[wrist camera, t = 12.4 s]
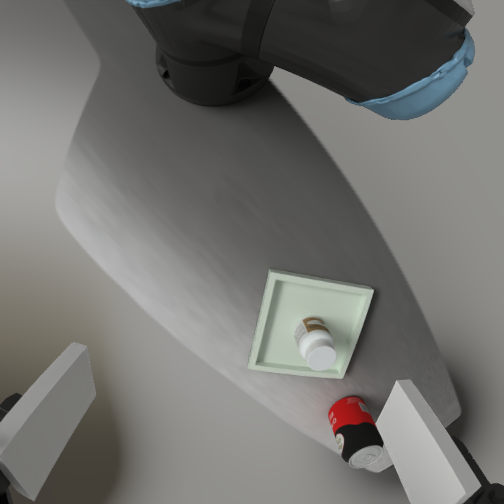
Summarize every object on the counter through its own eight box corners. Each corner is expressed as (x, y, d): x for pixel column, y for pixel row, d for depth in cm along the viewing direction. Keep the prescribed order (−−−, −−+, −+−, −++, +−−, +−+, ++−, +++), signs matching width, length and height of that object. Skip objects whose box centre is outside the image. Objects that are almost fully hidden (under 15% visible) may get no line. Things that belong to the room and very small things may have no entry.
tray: (269, 268, 37) (270, 271, 36) (369, 286, 38) (374, 290, 36) (248, 362, 40) (248, 368, 38) (339, 372, 41) (342, 378, 39)
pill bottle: (330, 320, 38) (347, 348, 31) (315, 347, 39) (328, 378, 32) (302, 310, 38) (314, 337, 30) (287, 337, 39) (296, 369, 31)
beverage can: (346, 387, 42) (370, 438, 30) (369, 401, 42) (395, 448, 31) (319, 412, 42) (335, 465, 31) (343, 424, 43) (362, 473, 32)
